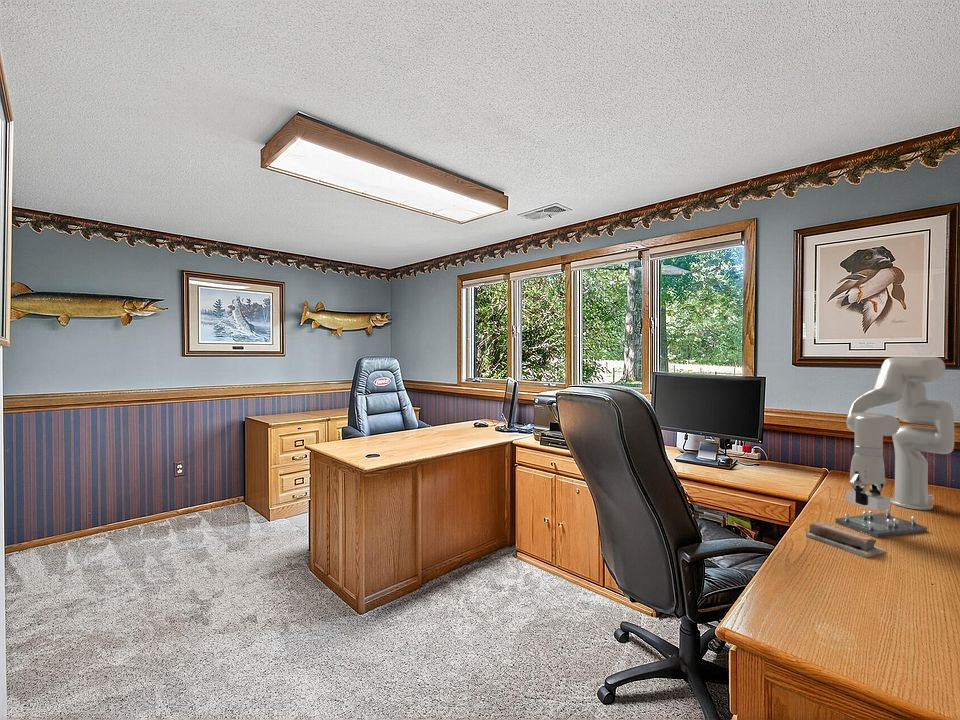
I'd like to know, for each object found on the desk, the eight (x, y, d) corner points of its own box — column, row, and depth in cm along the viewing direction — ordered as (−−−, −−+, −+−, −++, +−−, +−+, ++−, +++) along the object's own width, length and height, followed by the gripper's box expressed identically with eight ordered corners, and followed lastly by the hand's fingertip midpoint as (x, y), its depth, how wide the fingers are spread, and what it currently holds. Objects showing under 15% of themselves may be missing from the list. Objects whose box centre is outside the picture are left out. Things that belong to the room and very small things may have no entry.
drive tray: (882, 516, 169) (882, 506, 169) (927, 531, 155) (927, 519, 155) (835, 522, 163) (835, 511, 163) (877, 538, 150) (877, 525, 150)
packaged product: (804, 522, 152) (823, 518, 156) (804, 537, 152) (822, 532, 156) (867, 543, 135) (886, 538, 139) (867, 559, 136) (886, 553, 139)
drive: (859, 500, 163) (859, 488, 163) (889, 509, 153) (890, 497, 153) (847, 501, 162) (847, 489, 162) (877, 510, 152) (877, 498, 152)
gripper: (875, 448, 163) (875, 498, 163) (838, 450, 159) (837, 501, 159) (899, 452, 156) (898, 504, 156) (860, 455, 152) (860, 508, 152)
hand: (867, 502), depth 158 cm, fingers closed on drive, 5 cm apart
